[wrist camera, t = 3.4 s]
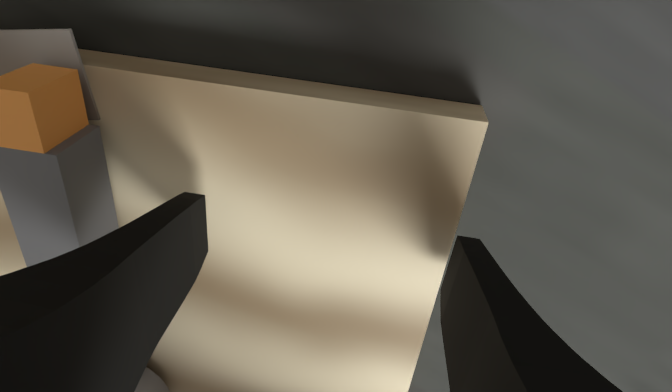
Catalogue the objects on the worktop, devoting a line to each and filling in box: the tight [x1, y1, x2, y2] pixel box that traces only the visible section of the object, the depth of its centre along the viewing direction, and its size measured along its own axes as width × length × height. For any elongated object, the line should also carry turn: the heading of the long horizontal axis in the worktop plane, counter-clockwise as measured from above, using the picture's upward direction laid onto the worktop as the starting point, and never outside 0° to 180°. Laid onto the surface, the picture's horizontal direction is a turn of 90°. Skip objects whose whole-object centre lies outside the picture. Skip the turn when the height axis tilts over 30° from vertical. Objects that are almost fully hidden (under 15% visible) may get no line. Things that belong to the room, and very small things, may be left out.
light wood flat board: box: [0, 29, 489, 392], centre depth 16 cm, size 15×23×1 cm, turn 84°
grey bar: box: [0, 63, 169, 392], centre depth 14 cm, size 15×4×3 cm, turn 174°
